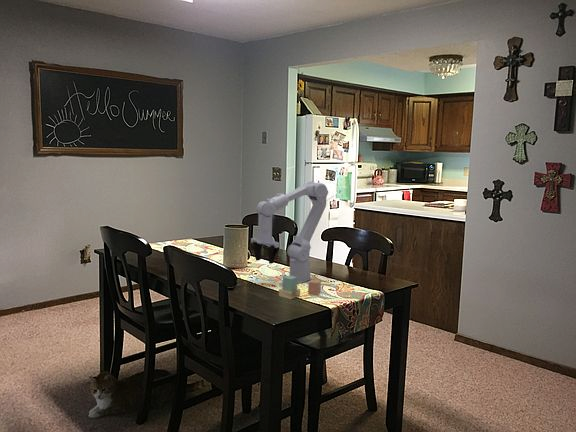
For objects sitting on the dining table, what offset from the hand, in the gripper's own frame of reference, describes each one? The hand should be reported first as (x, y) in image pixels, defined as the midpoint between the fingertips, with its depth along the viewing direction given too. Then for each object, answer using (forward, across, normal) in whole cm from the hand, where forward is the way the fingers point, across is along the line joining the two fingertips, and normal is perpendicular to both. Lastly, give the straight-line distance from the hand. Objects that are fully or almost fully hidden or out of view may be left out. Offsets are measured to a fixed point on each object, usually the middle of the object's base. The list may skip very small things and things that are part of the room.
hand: (264, 261), depth 216 cm
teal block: (+7, +18, -5) cm, 20 cm away
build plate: (+11, -7, -12) cm, 18 cm away
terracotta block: (+10, +23, +5) cm, 26 cm away
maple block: (+10, +18, -5) cm, 21 cm away
